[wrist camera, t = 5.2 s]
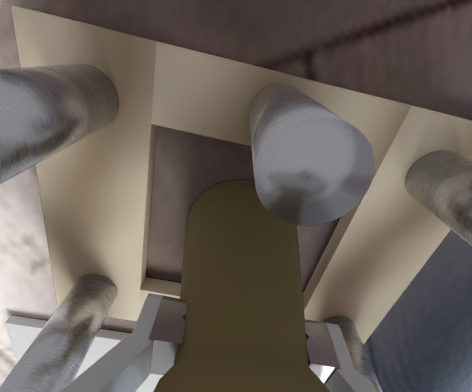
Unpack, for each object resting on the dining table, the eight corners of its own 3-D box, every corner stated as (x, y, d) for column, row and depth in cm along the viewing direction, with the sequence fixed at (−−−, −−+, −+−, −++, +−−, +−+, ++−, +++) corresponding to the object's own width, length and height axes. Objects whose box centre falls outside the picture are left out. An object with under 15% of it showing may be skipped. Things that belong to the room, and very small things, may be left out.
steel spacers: (490, 134, 11) (725, 212, 6) (339, 350, 18) (379, 472, 13) (50, 25, 9) (-199, -10, 4) (78, 309, 17) (2, 428, 11)
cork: (169, 242, 15) (41, 576, 6) (220, 157, 13) (152, 503, 3) (257, 282, 17) (278, 605, 7) (319, 213, 14) (491, 571, 4)
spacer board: (502, 127, 12) (523, 134, 11) (349, 341, 19) (355, 355, 18) (31, 9, 10) (10, 5, 9) (67, 295, 17) (58, 308, 17)
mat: (181, 341, 20) (179, 349, 19) (166, 415, 25) (164, 423, 25) (12, 315, 19) (5, 322, 18) (36, 398, 24) (31, 406, 24)
